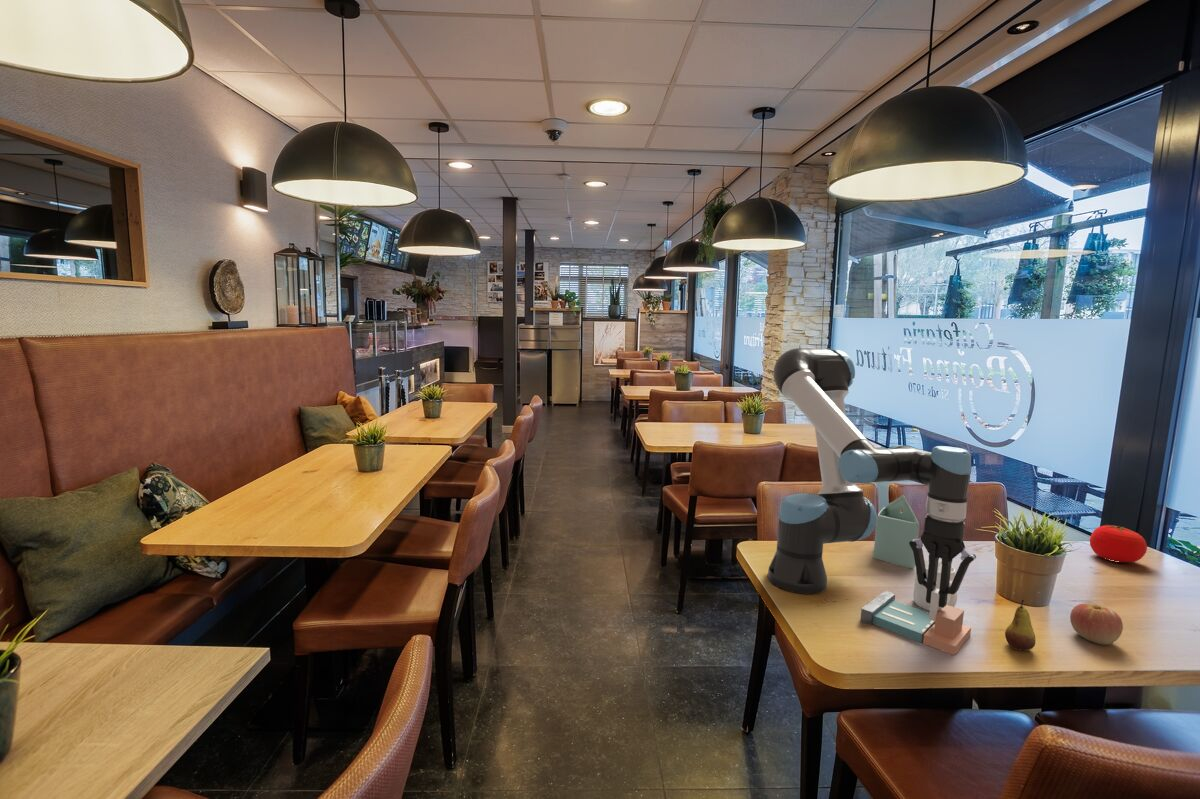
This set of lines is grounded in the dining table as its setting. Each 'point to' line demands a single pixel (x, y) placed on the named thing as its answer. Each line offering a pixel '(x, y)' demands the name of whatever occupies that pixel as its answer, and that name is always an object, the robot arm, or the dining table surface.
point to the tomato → (1118, 543)
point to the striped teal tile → (904, 620)
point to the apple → (1096, 623)
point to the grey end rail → (876, 606)
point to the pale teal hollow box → (896, 533)
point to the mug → (921, 590)
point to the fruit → (1020, 630)
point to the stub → (948, 630)
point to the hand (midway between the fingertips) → (934, 618)
